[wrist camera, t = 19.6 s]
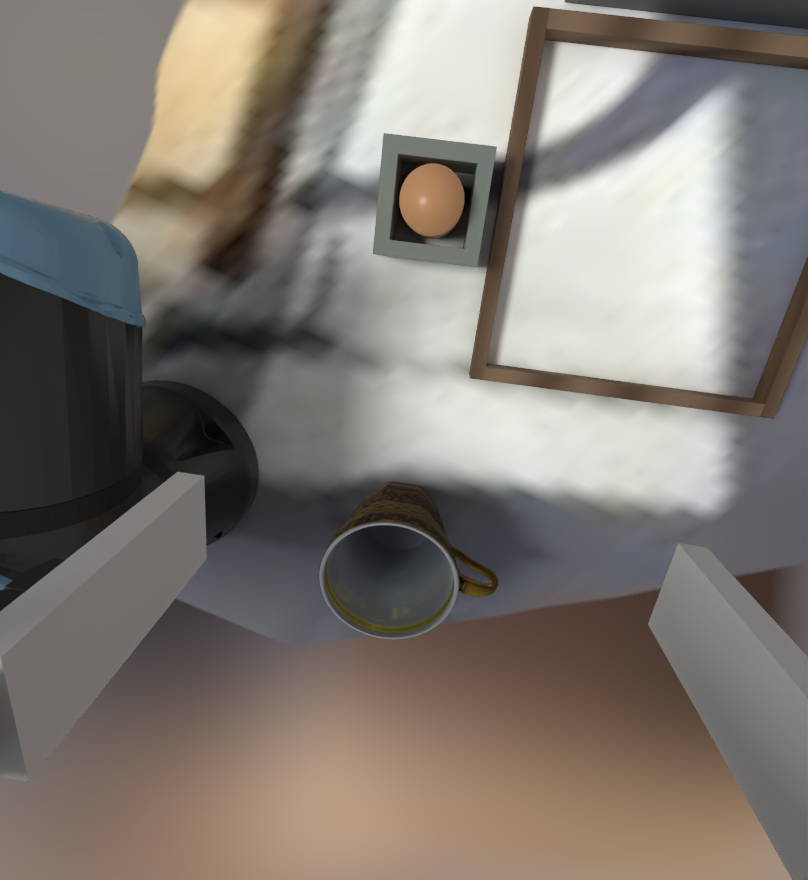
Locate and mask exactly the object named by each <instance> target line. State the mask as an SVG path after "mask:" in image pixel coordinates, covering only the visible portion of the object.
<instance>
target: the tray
mask: <svg viewBox="0 0 808 880" xmlns="http://www.w3.org/2000/svg"><path fill="white" fill-rule="evenodd" d="M565 2H570V3H579V4H588V5H597V6H606V7H615V8H625V9H634V10H643V11H652V12H661V13H670V14H679V15H689V16H698V17H707V18H716V19H725V20H734V21H743V22H753V23H762V24H771V25H780V26H789V27H798V28H807V29H808V0H565Z"/></svg>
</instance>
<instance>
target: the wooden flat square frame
mask: <svg viewBox="0 0 808 880" xmlns="http://www.w3.org/2000/svg"><path fill="white" fill-rule="evenodd" d="M544 40H553V41H561V42H570V43H579V44H588V45H597V46H606V47H615V48H624V49H633V50H642V51H651V52H660V53H669V54H678V55H687V56H695V57H704V58H713V59H722V60H731V61H740V62H749V63H758V64H767V65H776V66H785V67H794V68H803V69H808V37H807V36H798V35H788V34H779V33H770V32H761V31H752V30H743V29H734V28H725V27H716V26H707V25H697V24H688V23H679V22H670V21H661V20H652V19H643V18H634V17H625V16H616V15H606V14H597V13H588V12H579V11H570V10H561V9H552V8H543V7H533V9H532V12H531V15H530V18H529V24H528V30H527V36H526V41H525V47H524V53H523V59H522V65H521V71H520V77H519V83H518V89H517V95H516V101H515V107H514V112H513V118H512V124H511V130H510V136H509V142H508V148H507V154H506V160H505V166H504V172H503V178H502V183H501V189H500V195H499V201H498V207H497V213H496V219H495V225H494V231H493V237H492V243H491V248H490V254H489V260H488V266H487V272H486V278H485V284H484V290H483V296H482V302H481V308H480V314H479V319H478V325H477V331H476V337H475V343H474V349H473V355H472V361H471V367H470V373H469V375H470V378H473V379H480V380H488V381H495V382H503V383H510V384H518V385H525V386H532V387H540V388H547V389H555V390H562V391H570V392H577V393H585V394H592V395H600V396H607V397H615V398H622V399H629V400H637V401H644V402H652V403H659V404H667V405H674V406H682V407H689V408H697V409H704V410H712V411H719V412H726V413H734V414H741V415H749V416H756V417H764V418H771V419H773V418H774V416H775V413H776V411H777V409H778V406H779V404H780V401H781V399H782V396H783V394H784V391H785V389H786V386H787V384H788V382H789V379H790V377H791V374H792V372H793V369H794V367H795V364H796V362H797V360H798V357H799V355H800V352H801V350H802V347H803V345H804V342H805V340H806V337H807V335H808V258H807V260H806V263H805V266H804V268H803V271H802V273H801V276H800V279H799V281H798V284H797V286H796V289H795V291H794V294H793V297H792V299H791V302H790V304H789V307H788V310H787V312H786V315H785V317H784V320H783V323H782V325H781V328H780V330H779V333H778V335H777V338H776V341H775V343H774V346H773V348H772V351H771V354H770V356H769V359H768V361H767V364H766V367H765V369H764V372H763V374H762V377H761V379H760V382H759V385H758V387H757V390H756V392H755V395H754V398H753V399H749V398H741V397H734V396H726V395H719V394H711V393H704V392H696V391H689V390H681V389H674V388H666V387H659V386H651V385H644V384H636V383H629V382H621V381H613V380H606V379H598V378H591V377H583V376H576V375H568V374H561V373H553V372H546V371H538V370H531V369H523V368H516V367H508V366H501V365H493V364H486V362H487V356H488V350H489V345H490V339H491V334H492V328H493V323H494V317H495V312H496V306H497V300H498V295H499V289H500V284H501V278H502V273H503V267H504V262H505V256H506V251H507V245H508V239H509V234H510V228H511V223H512V217H513V212H514V206H515V201H516V195H517V189H518V184H519V178H520V173H521V167H522V162H523V156H524V151H525V145H526V140H527V134H528V128H529V123H530V117H531V112H532V106H533V101H534V95H535V90H536V84H537V78H538V73H539V67H540V62H541V56H542V51H543V45H544Z"/></svg>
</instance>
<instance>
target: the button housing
mask: <svg viewBox="0 0 808 880" xmlns="http://www.w3.org/2000/svg"><path fill="white" fill-rule="evenodd" d="M496 148H497V147H494V146H486V145H478V144H469V143H461V142H452V141H444V140H436V139H427V138H419V137H410V136H402V135H394V134H385V133H384V137H383V148H382V159H381V170H380V181H379V192H378V203H377V215H376V226H375V237H374V248H373V254H377V255H385V256H393V257H401V258H409V259H417V260H425V261H432V262H440V263H448V264H456V265H464V266H472V267H477V265H478V259H479V253H480V247H481V241H482V235H483V228H484V222H485V216H486V210H487V204H488V198H489V191H490V185H491V179H492V173H493V167H494V160H495V154H496ZM431 163H434V164H441V165H444V166H446V167H448V168H449V169H451V170H452V171H453V172H460V173H468V174H474V177H473V184H472V190H471V197H470V204H469V210H468V217H467V224H466V230H465V237H464V244H463V249H459V248H451V247H443V246H435V245H427V244H419V243H411V242H403V241H395V238H396V228H397V219H398V209H399V198H400V190H401V180H402V171H403V166H410V167H420V166H422V165H425V164H431Z"/></svg>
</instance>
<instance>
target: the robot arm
mask: <svg viewBox="0 0 808 880" xmlns="http://www.w3.org/2000/svg"><path fill="white" fill-rule="evenodd" d="M145 325H146V320H145V317H144V316H143V315H142V311H141V298H140V286H139V272H138V260H137V256H136V253H135V250H134V248H133V246H132V244H131V243H130V241H129V240H128V239H127V237H126V236H125V235H124V234H123V233H122V232H121V231H120V230H118V229H117V228H116V227H114V226H113V225H111V224H109V223H108V222H106V221H103V220H101V219H98V218H95V217H92V216H88V215H85V214H81V213H78V212H74V211H71V210H67V209H64V208H60V207H57V206H53V205H50V204H47V203H43V202H39V201H36V200H33V199H29V198H26V197H22V196H19V195H15V194H12V193H8V192H5V191H1V190H0V777H2V778H9V779H15V780H21V781H27V782H29V781H30V779H31V778H32V777H33V776H34V775H35V773H36V772H37V771H38V770H39V768H40V767H41V766H42V765H43V763H44V762H45V761H46V760H47V758H48V757H49V756H50V755H51V753H52V752H53V751H54V750H55V748H56V747H57V746H58V745H59V743H60V742H61V741H62V740H63V738H64V737H65V736H66V735H67V733H68V732H69V731H70V730H71V728H72V727H73V726H74V725H75V723H76V722H77V721H78V719H79V718H80V717H81V716H82V715H83V713H84V712H85V711H86V709H87V708H88V707H89V706H90V705H91V703H92V702H93V701H94V700H95V698H96V697H97V696H98V694H99V693H100V692H101V691H102V689H103V688H104V687H105V686H106V684H107V683H108V682H109V681H110V679H111V678H112V677H113V676H114V674H115V673H116V672H117V671H118V669H119V668H120V667H121V665H122V664H123V663H124V662H125V661H126V659H127V658H128V657H129V655H130V654H131V653H132V652H133V651H134V649H135V648H136V647H137V646H138V644H139V643H140V642H141V641H142V639H143V638H144V637H145V636H146V634H147V633H148V632H149V631H150V629H151V628H152V627H153V626H154V624H155V623H156V622H157V621H158V619H159V618H160V617H161V616H162V614H163V613H164V612H165V611H166V609H167V608H168V607H169V606H170V604H171V603H172V602H173V600H174V599H175V598H176V597H177V596H178V594H179V593H180V592H181V591H182V589H183V588H184V587H185V586H186V584H187V583H188V582H189V581H190V579H191V578H192V577H193V576H194V574H195V573H196V572H197V571H198V569H199V568H200V567H201V566H202V564H203V563H204V562H205V561H206V559H207V551H206V545H209V544H211V543H213V542H215V541H217V540H219V539H220V538H222V537H223V536H224V535H226V534H227V533H228V532H229V531H231V530H232V529H233V528H234V527H235V526H236V524H237V523H238V522H239V521H240V519H241V518H242V517H243V516H244V514H245V513H246V512H247V510H248V509H249V507H250V506H251V504H252V502H253V499H254V497H255V494H256V490H257V485H258V464H257V458H256V454H255V451H254V448H253V445H252V443H251V441H250V439H249V437H248V435H247V433H246V431H245V430H244V428H243V427H242V425H241V424H240V422H239V421H238V420H237V419H236V417H235V416H234V415H233V414H232V413H231V412H230V411H229V410H228V409H227V408H226V407H225V406H223V405H222V404H221V403H220V402H218V401H217V400H216V399H214V398H213V397H211V396H210V395H208V394H206V393H204V392H202V391H200V390H198V389H196V388H193V387H191V386H188V385H185V384H181V383H176V382H170V381H149V382H143V383H142V327H145ZM648 625H649V627H650V629H651V630H652V632H653V634H654V636H655V637H656V639H657V641H658V643H659V645H660V646H661V648H662V650H663V652H664V653H665V655H666V657H667V659H668V660H669V662H670V664H671V666H672V667H673V669H674V671H675V673H676V675H677V676H678V678H679V680H680V682H681V683H682V685H683V687H684V689H685V691H686V692H687V694H688V696H689V698H690V699H691V701H692V703H693V705H694V706H695V708H696V710H697V712H698V714H699V715H700V717H701V719H702V721H703V722H704V724H705V726H706V728H707V730H708V731H709V733H710V735H711V737H712V738H713V740H714V742H715V744H716V745H717V747H718V749H719V751H720V752H721V754H722V756H723V758H724V760H725V761H726V763H727V765H728V767H729V768H730V770H731V772H732V774H733V775H734V777H735V779H736V781H737V782H738V784H739V786H740V787H741V790H742V791H743V793H744V795H745V797H746V798H747V800H748V802H749V804H750V806H751V807H752V809H753V811H754V813H755V814H756V816H757V818H758V820H759V821H760V823H761V825H762V827H763V829H764V830H765V832H766V834H767V836H768V838H769V839H770V841H771V843H772V845H773V846H774V848H775V850H776V852H777V853H778V855H779V857H780V858H781V861H782V862H783V864H784V866H785V867H786V869H787V871H788V873H789V874H790V876H791V878H792V880H808V657H807V656H806V655H805V654H804V652H803V651H802V650H801V649H800V648H799V647H798V646H797V645H796V644H795V643H794V642H793V640H792V639H791V638H790V637H789V636H788V635H787V634H786V633H785V632H784V631H783V630H782V629H781V628H780V626H779V625H778V624H777V623H776V622H775V621H774V620H773V619H772V618H771V617H770V616H769V614H768V613H767V612H766V611H765V610H764V609H763V608H762V607H761V606H760V605H759V604H758V603H757V602H756V600H755V599H753V597H752V596H751V595H750V594H749V593H748V592H747V591H746V589H745V588H744V587H743V586H742V585H741V584H740V583H739V582H738V581H737V580H736V579H735V578H734V576H733V575H732V574H731V573H730V572H729V571H728V570H727V569H726V568H725V567H724V566H723V565H722V563H721V562H720V561H719V560H718V559H717V558H716V557H715V556H714V555H713V554H712V553H711V552H710V550H709V549H708V548H707V547H701V546H694V545H687V544H680V543H678V545H677V548H676V550H675V553H674V556H673V558H672V561H671V564H670V566H669V569H668V572H667V575H666V577H665V580H664V583H663V585H662V588H661V591H660V594H659V596H658V599H657V602H656V604H655V607H654V610H653V612H652V615H651V618H650V621H649V623H648Z"/></svg>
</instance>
